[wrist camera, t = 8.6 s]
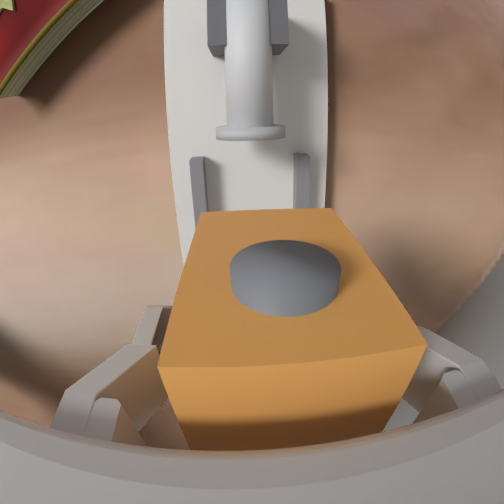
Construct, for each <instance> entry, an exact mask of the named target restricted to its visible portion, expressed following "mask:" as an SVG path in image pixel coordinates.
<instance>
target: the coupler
mask: <svg viewBox="0 0 504 504" xmlns="http://www.w3.org/2000/svg"><path fill="white" fill-rule="evenodd" d="M427 345H428V344H427V342H426V340H425V339H424V337H423V336H422V334H421V332H420V331H419V329H418V328H417V326H416V325H415V323H414V321H413V320H412V318H411V317H410V315H409V314H408V312H407V311H406V309H405V308H404V306H403V305H402V303H401V302H400V300H399V299H398V297H397V296H396V294H395V293H394V292H393V290H392V289H391V287H390V286H389V284H388V283H387V281H386V280H385V279H384V277H383V276H382V274H381V273H380V272H379V270H378V269H377V267H376V266H375V265H374V263H373V262H372V261H371V259H370V258H369V256H368V255H367V254H366V252H365V251H364V250H363V248H362V247H361V246H360V244H359V243H358V242H357V240H356V239H355V238H354V237H353V235H352V234H351V233H350V231H349V230H348V229H347V227H346V226H345V225H344V224H343V222H342V221H341V220H340V219H339V217H338V216H337V215H336V213H335V212H334V211H333V210H332V208H297V209H262V210H236V211H215V212H201V214H200V217H199V220H198V223H197V226H196V229H195V233H194V236H193V239H192V242H191V245H190V249H189V252H188V255H187V258H186V262H185V265H184V268H183V272H182V275H181V279H180V282H179V286H178V289H177V293H176V296H175V300H174V303H173V307H172V311H171V314H170V318H169V322H168V325H167V329H166V333H165V337H164V341H163V345H162V349H161V353H160V357H159V361H158V365H157V368H158V370H159V373H160V376H161V379H162V381H163V384H164V387H165V389H166V392H167V395H168V397H169V400H170V402H171V405H172V407H173V410H174V412H175V414H176V417H177V419H178V422H179V424H180V426H181V429H182V431H183V433H184V435H185V438H186V440H187V442H188V444H189V447H190V449H191V450H200V451H245V450H266V449H280V448H290V447H300V446H308V445H316V444H323V443H329V442H336V441H341V440H347V439H352V438H357V437H362V436H367V435H372V434H376V433H380V432H382V430H383V429H384V427H385V425H386V424H387V422H388V421H389V419H390V417H391V416H392V414H393V412H394V410H395V409H396V407H397V405H398V403H399V401H400V400H401V398H402V396H403V394H404V392H405V390H406V389H407V387H408V385H409V383H410V381H411V379H412V377H413V375H414V373H415V371H416V369H417V367H418V365H419V362H420V360H421V358H422V356H423V354H424V352H425V349H426V347H427Z"/></svg>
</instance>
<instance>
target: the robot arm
mask: <svg viewBox="0 0 504 504" xmlns="http://www.w3.org/2000/svg"><path fill="white" fill-rule="evenodd" d="M172 307H173V306H147V307H146V308H145V310H144V312H143V315H142V318H141V320H140V323H139V325H138V328H137V331H136V334H135V336H134V339H133V342H132V344H126V345H125V346H124V347H122V348H121V349H120V350H118V351H117V352H116V353H114V354H113V355H112V356H110V357H109V358H108V359H106V360H105V361H104V362H102V363H101V364H100V365H98V366H97V367H96V368H94V369H93V370H92V371H90V372H89V373H88V374H86V375H85V376H84V377H82V378H81V379H80V380H78V381H77V382H76V383H74V384H73V385H72V386H70V387H69V388H68V389H66V390H65V392H64V395H63V397H62V399H61V402H60V404H59V406H58V409H57V411H56V414H55V416H54V419H53V421H52V424H51V426H50V428H49V427H46V426H42V425H39V424H36V423H33V422H29V421H26V420H23V419H20V418H18V417H15V416H12V415H9V414H6V413H4V412H1V411H0V504H504V389H503V390H502V388H501V387H500V385H499V383H498V382H497V380H496V379H495V377H494V375H493V374H492V372H491V371H490V369H489V368H488V366H487V365H486V363H485V362H484V360H483V359H481V358H479V357H477V356H475V355H474V354H472V353H469V352H468V351H466V350H465V349H462V348H461V347H459V346H457V345H455V344H454V343H452V342H450V341H448V340H446V339H445V338H443V337H441V336H439V335H437V334H435V333H434V332H432V331H430V330H428V329H426V328H424V327H422V326H417V328H418V329H419V331H420V332H421V334H422V336H423V337H424V339H425V340H426V342H427V344H428V345H427V347H426V349H425V352H424V354H423V356H422V358H421V360H420V362H419V365H418V367H417V369H416V371H415V373H414V375H413V377H412V379H411V381H410V383H409V385H408V387H407V389H406V390H405V392H404V394H403V396H402V398H403V399H405V400H406V401H407V402H408V403H409V404H410V405H412V406H413V407H414V408H415V409H416V410H417V411H419V412H420V413H419V415H418V417H417V418H416V419H415V421H414V422H413V424H411V425H407V426H404V427H400V428H396V429H393V430H388V431H384V432H380V433H376V434H372V435H367V436H362V437H357V438H352V439H347V440H341V441H336V442H329V443H323V444H316V445H308V446H300V447H290V448H280V449H266V450H245V451H200V450H180V449H166V448H156V447H148V446H147V445H146V443H145V442H144V440H143V439H142V437H141V436H140V434H139V433H138V432H139V431H140V430H141V429H142V427H143V426H144V425H145V424H146V423H147V422H148V421H149V419H150V418H151V417H152V416H153V415H154V414H155V412H156V411H157V410H158V409H159V408H160V407H161V405H162V404H163V403H164V402H165V401H166V400H167V398H168V395H167V392H166V389H165V387H164V384H163V381H162V379H161V376H160V373H159V370H158V368H157V365H158V361H159V357H160V353H161V349H162V345H163V341H164V337H165V333H166V329H167V325H168V322H169V318H170V314H171V311H172ZM415 325H416V324H415Z"/></svg>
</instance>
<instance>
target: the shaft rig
mask: <svg viewBox="0 0 504 504" xmlns="http://www.w3.org/2000/svg"><path fill="white" fill-rule="evenodd" d="M164 62H165V88H166V107H167V122H168V136H169V148H170V159H171V170H172V180H173V189H174V198H175V207H176V215H177V223H178V230H179V238H180V245H181V252H182V259H183V265H185V262H186V258H187V255H188V252H189V249H190V245H191V242H192V239H193V236H194V233H195V229H196V226H197V223H198V220H199V217H200V214H201V212H215V211H236V210H262V209H297V208H324V207H325V190H326V168H327V135H328V67H327V37H326V17H325V2H324V0H164Z"/></svg>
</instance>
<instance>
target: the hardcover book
mask: <svg viewBox="0 0 504 504" xmlns="http://www.w3.org/2000/svg"><path fill="white" fill-rule="evenodd" d="M103 1H104V0H0V98H5V97H13V96H19V94H20V93H21V91H22V90H23V89H24V87H25V86H26V85H27V83H28V82H29V81H30V79H31V78H32V77H33V75H34V74H35V73H36V71H37V70H38V69H39V68H40V66H41V65H42V64H43V63H44V62H45V60H46V59H47V58H48V57H49V56H50V54H51V53H52V52H53V51H54V50H55V49H56V47H57V46H58V45H59V44H60V43H61V42H62V41H63V40H64V39H65V38H66V37H67V35H68V34H69V33H70V32H71V31H72V30H73V29H74V28H75V27H76V26H77V25H78V24H79V23H80V22H81V21H82V20H83V19H84V18H85V17H86V16H87V15H88V14H90V13H91V12H92V11H93V10H94V9H95V8H96V7H97V6H98V5H99V4H101V3H102V2H103Z"/></svg>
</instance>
